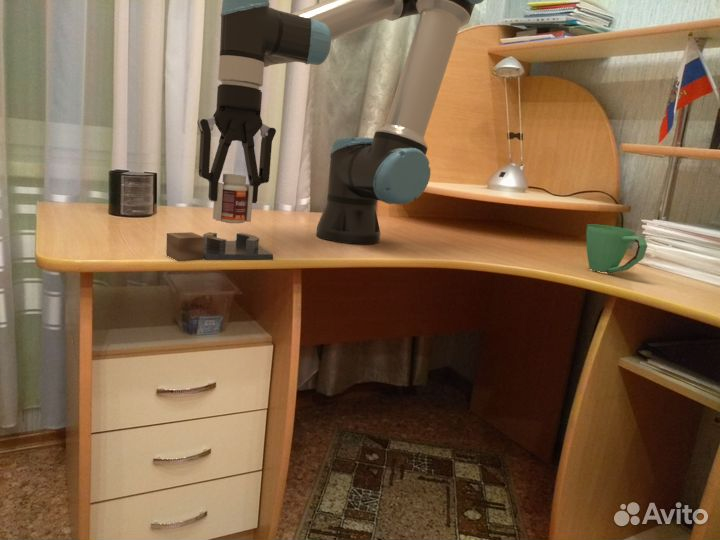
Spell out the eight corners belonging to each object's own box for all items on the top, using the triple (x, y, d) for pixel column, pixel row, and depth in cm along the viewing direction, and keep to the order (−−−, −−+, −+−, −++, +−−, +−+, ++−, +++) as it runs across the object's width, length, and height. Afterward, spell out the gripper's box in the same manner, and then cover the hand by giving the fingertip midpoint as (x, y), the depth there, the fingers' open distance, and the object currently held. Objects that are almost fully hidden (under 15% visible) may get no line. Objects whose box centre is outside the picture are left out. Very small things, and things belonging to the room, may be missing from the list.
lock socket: (251, 246, 108) (252, 229, 107) (272, 259, 98) (274, 241, 97) (189, 245, 102) (190, 228, 101) (205, 260, 92) (206, 240, 91)
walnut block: (190, 254, 95) (191, 232, 94) (203, 260, 92) (204, 237, 91) (166, 256, 92) (166, 233, 91) (178, 262, 89) (179, 238, 88)
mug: (568, 266, 125) (577, 223, 123) (600, 266, 129) (609, 225, 127) (620, 282, 112) (630, 235, 110) (653, 283, 116) (664, 237, 114)
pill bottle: (238, 224, 96) (241, 176, 94) (213, 221, 97) (216, 173, 95) (249, 221, 100) (252, 176, 99) (225, 218, 101) (228, 173, 99)
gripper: (280, 94, 101) (271, 218, 106) (182, 78, 92) (176, 214, 97) (296, 93, 95) (285, 225, 100) (192, 76, 86) (185, 221, 91)
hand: (231, 219), depth 99 cm, fingers closed on pill bottle, 5 cm apart
